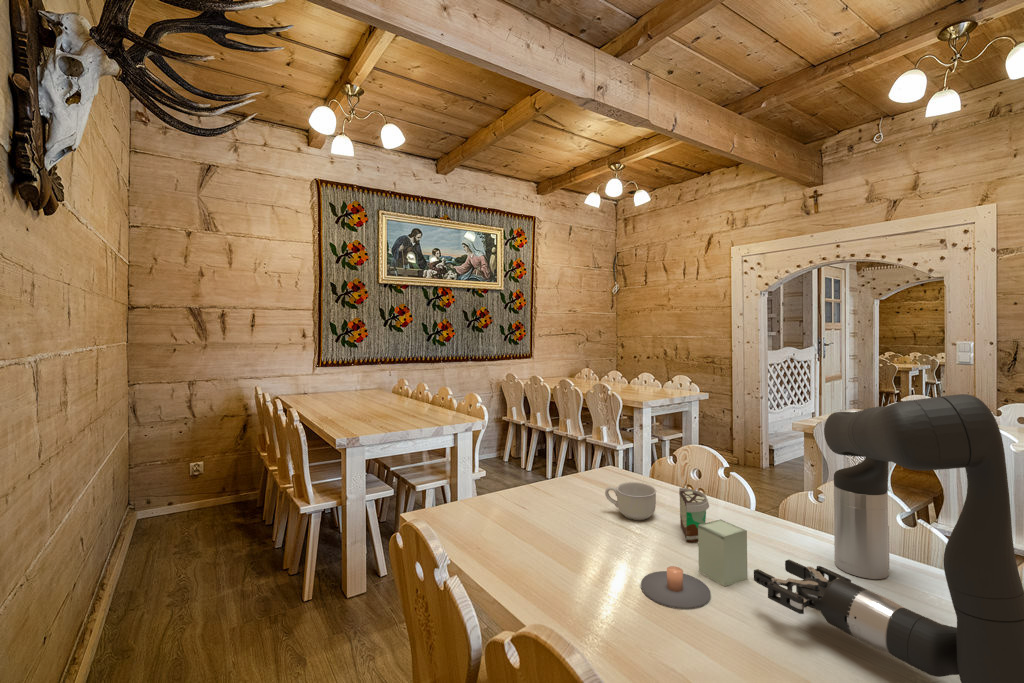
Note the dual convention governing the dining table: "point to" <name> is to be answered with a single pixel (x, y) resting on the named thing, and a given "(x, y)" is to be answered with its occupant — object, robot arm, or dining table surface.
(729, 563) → the upright green box
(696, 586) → the mat
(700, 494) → the food container
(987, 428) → the robot arm
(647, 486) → the teacup
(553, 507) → the dining table surface
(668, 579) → the pillar candle
